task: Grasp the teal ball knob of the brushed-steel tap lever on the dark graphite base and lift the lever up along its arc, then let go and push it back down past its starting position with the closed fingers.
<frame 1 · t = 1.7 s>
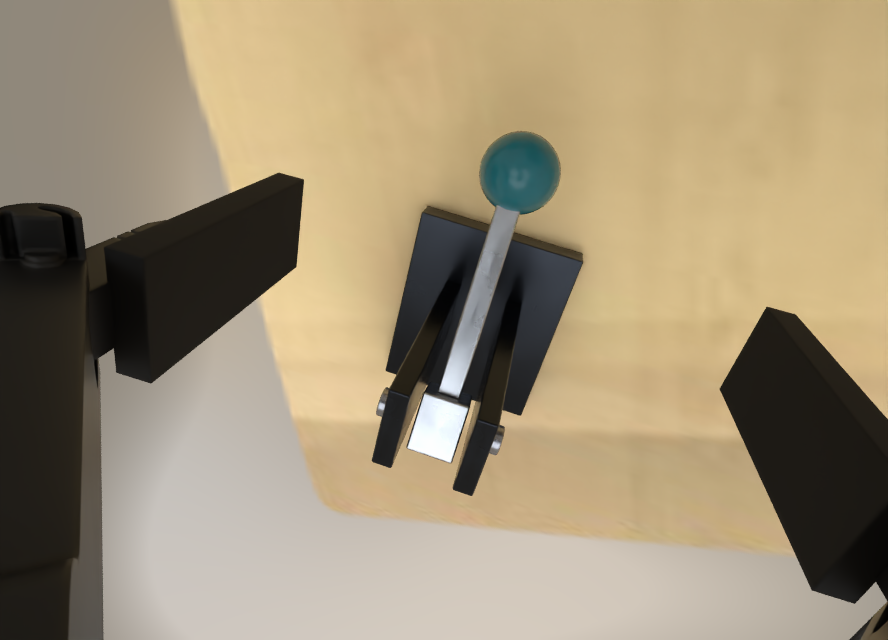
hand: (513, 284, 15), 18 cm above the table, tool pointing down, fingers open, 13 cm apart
tap base: (478, 311, 36), on the table
tap lever: (480, 296, 25), point 10 cm above the table, hinge at -22.0°
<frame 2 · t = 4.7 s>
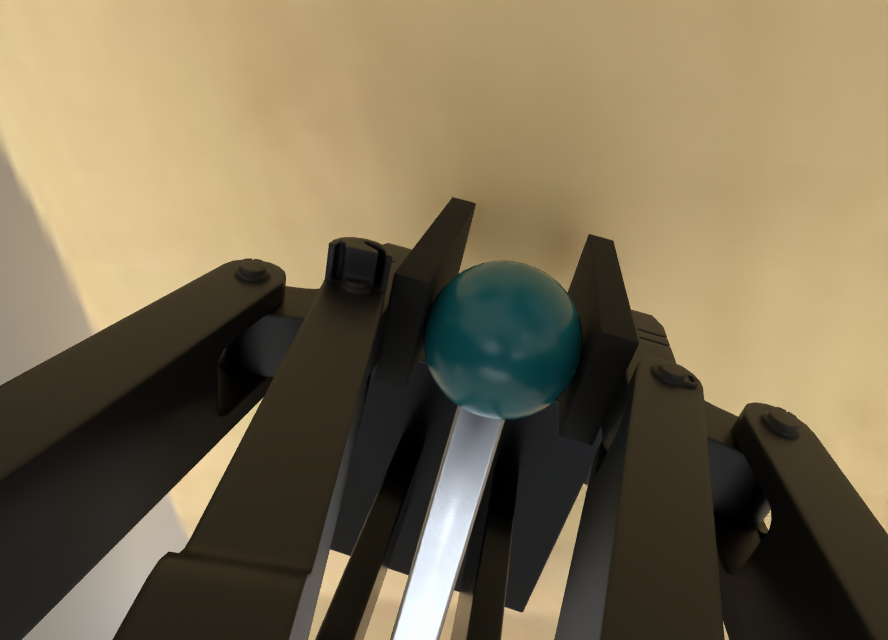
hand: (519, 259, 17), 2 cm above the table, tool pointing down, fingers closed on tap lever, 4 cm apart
tap base: (454, 468, 24), on the table
tap lever: (434, 569, 13), point 10 cm above the table, hinge at -22.0°, touching gripper
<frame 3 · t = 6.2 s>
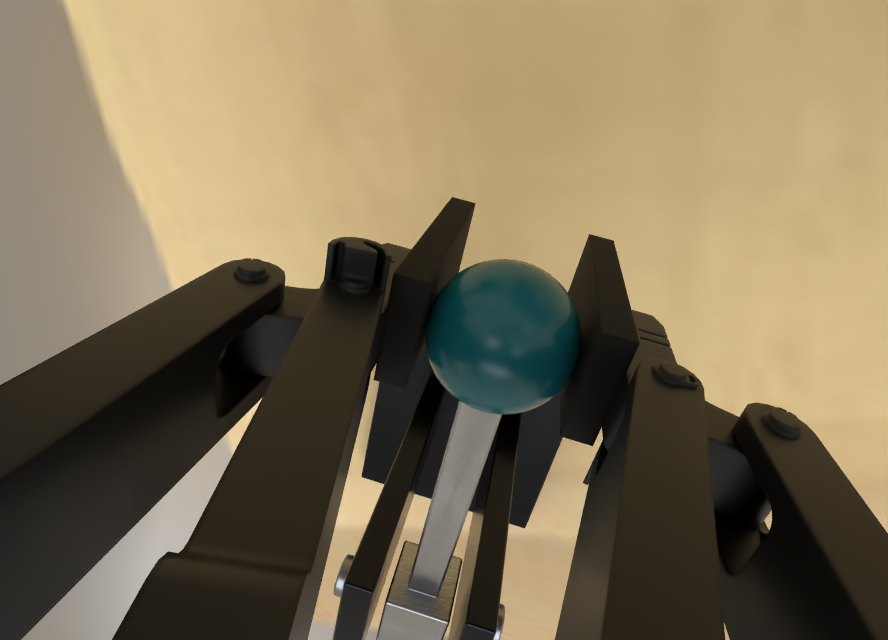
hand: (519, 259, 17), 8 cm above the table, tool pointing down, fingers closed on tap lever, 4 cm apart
tap base: (469, 407, 30), on the table
tap lever: (453, 491, 16), point 13 cm above the table, hinge at 6.4°, touching gripper
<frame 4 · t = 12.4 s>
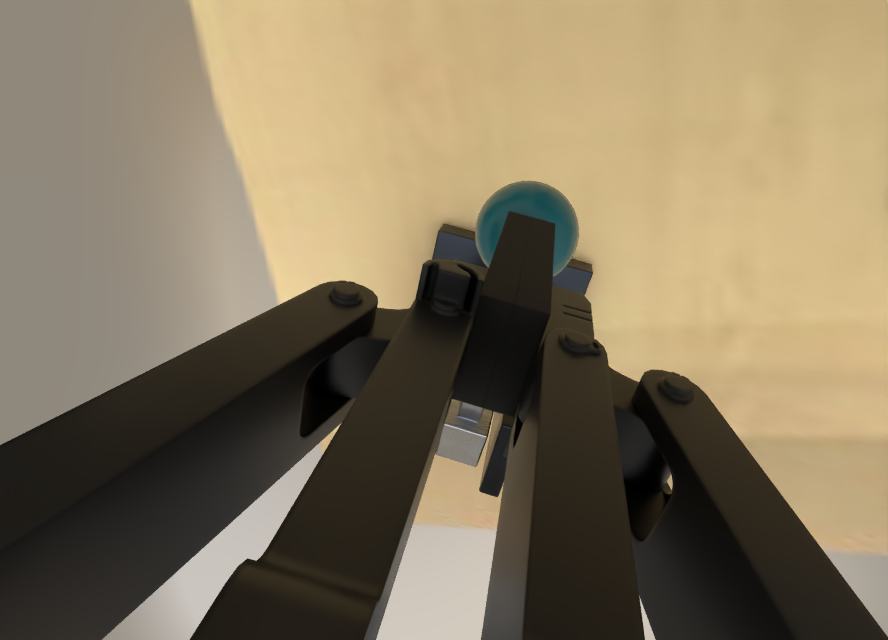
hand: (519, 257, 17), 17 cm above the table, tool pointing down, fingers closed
tap base: (493, 322, 38), on the table
tap lever: (491, 344, 23), point 14 cm above the table, hinge at 15.4°
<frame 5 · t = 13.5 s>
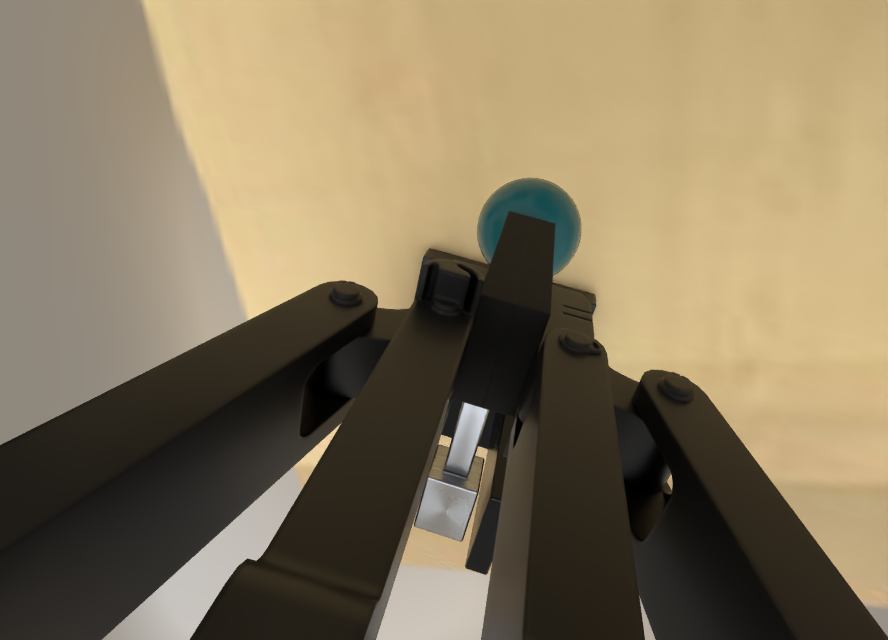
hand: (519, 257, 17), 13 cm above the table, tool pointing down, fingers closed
tap base: (485, 355, 34), on the table
tap lever: (486, 371, 21), point 11 cm above the table, hinge at -5.3°, touching gripper
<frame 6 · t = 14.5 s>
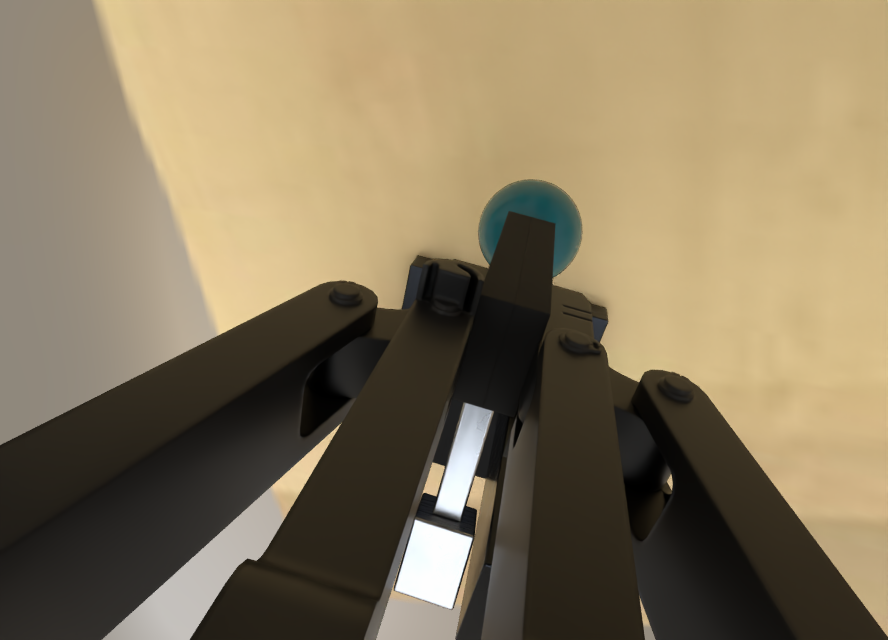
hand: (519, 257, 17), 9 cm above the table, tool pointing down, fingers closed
tap base: (482, 375, 30), on the table
tap lever: (483, 388, 19), point 9 cm above the table, hinge at -24.2°, touching gripper
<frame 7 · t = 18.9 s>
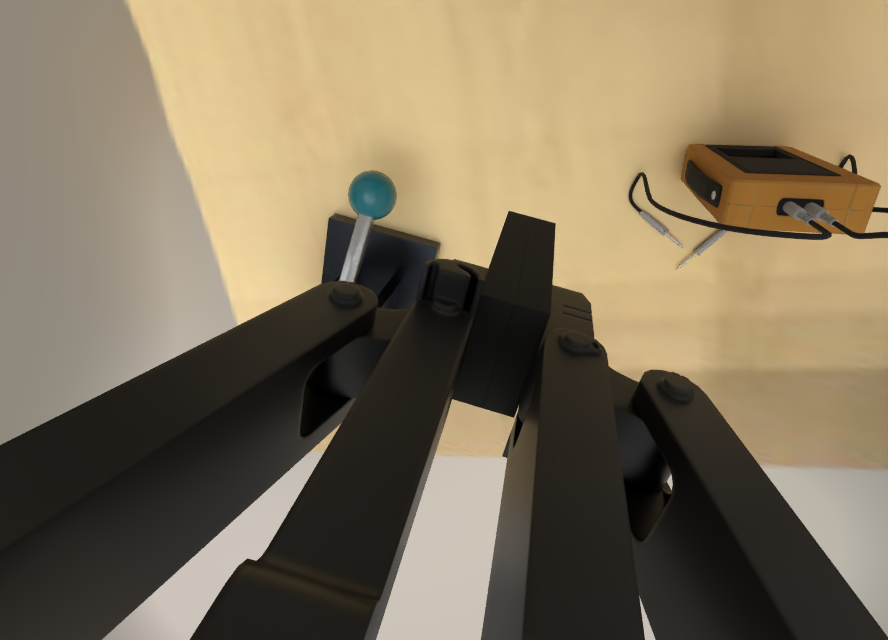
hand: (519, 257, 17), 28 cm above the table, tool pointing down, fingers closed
tap base: (377, 287, 51), on the table
multimeter: (722, 209, 42), on the table
tap lever: (351, 269, 40), point 9 cm above the table, hinge at -28.0°
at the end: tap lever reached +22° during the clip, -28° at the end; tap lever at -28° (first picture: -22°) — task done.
